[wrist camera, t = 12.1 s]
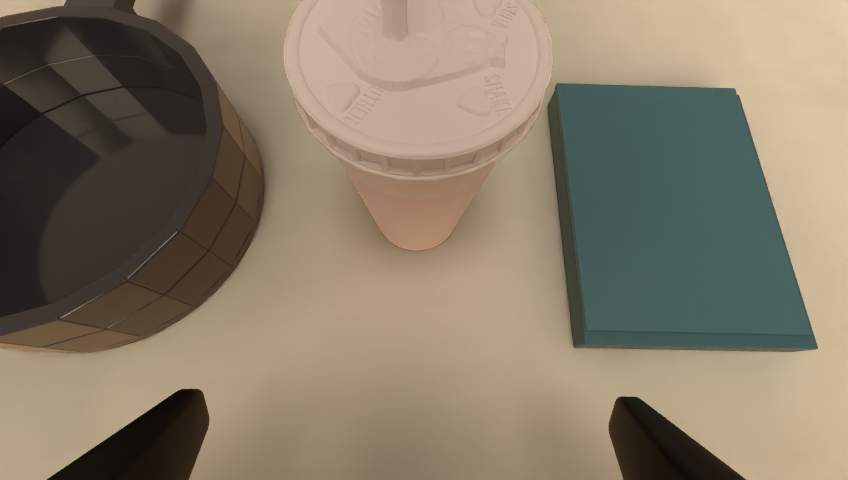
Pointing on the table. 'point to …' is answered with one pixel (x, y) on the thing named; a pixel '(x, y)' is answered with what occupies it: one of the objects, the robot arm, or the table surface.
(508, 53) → the smoothie
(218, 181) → the pan
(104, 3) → the pan handle
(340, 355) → the table surface
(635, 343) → the teal flat block
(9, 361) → the table surface
